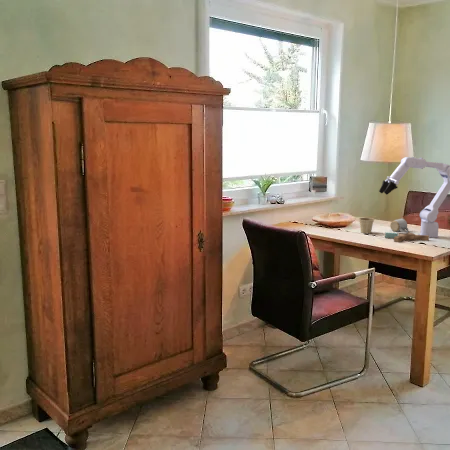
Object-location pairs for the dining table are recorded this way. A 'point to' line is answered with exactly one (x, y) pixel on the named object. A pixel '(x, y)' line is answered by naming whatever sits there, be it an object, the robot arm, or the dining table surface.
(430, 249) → the dining table surface
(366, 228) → the flower pot
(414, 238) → the brown irregular flat piece
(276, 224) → the dining table surface
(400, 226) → the ceramic mug
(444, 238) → the dining table surface
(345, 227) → the dining table surface
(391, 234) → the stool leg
